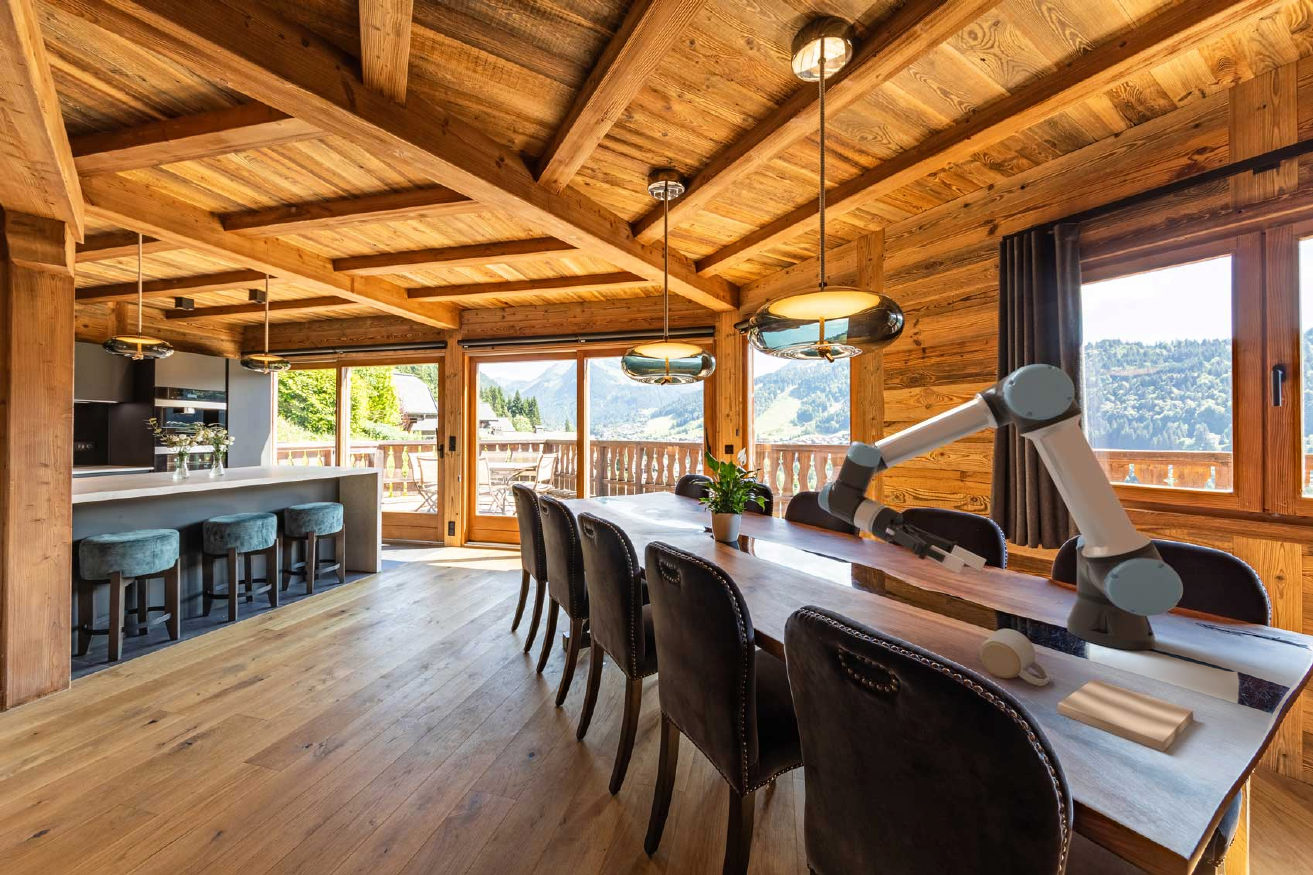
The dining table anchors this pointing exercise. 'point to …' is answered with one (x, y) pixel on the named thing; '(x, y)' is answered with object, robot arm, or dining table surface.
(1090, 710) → the birch board
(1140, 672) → the dining table surface
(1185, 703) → the dining table surface
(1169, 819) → the dining table surface
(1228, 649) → the dining table surface
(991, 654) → the ceramic mug
